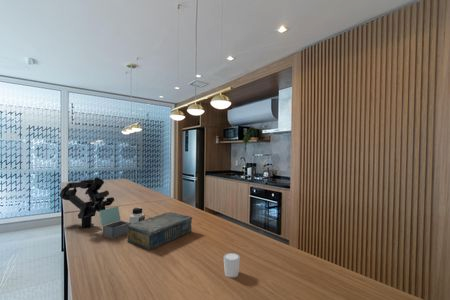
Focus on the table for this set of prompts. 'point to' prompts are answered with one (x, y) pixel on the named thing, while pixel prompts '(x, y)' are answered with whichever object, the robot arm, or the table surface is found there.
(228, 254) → the shot glass
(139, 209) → the medicine bottle
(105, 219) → the lid
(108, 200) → the robot arm
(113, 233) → the storage box
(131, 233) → the metal box
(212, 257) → the table surface
